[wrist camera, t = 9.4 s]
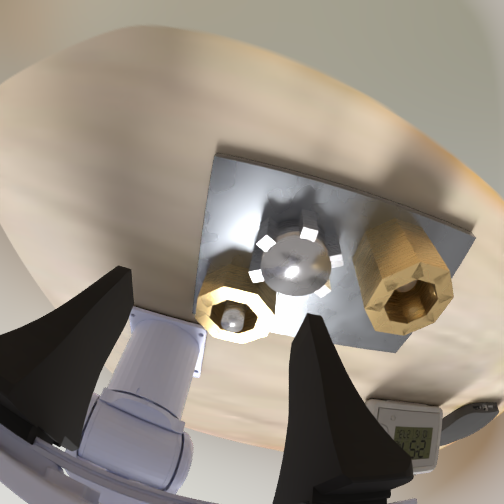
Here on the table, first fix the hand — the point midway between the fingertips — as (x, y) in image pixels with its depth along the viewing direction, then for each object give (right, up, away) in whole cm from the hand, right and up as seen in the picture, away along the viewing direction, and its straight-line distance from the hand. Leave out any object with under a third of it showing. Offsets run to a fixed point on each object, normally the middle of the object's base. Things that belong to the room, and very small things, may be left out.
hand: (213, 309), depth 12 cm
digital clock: (+23, -20, +23) cm, 38 cm away
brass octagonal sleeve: (+12, +2, +8) cm, 14 cm away
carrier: (+8, +1, +11) cm, 13 cm away
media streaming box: (+41, -30, +28) cm, 58 cm away
